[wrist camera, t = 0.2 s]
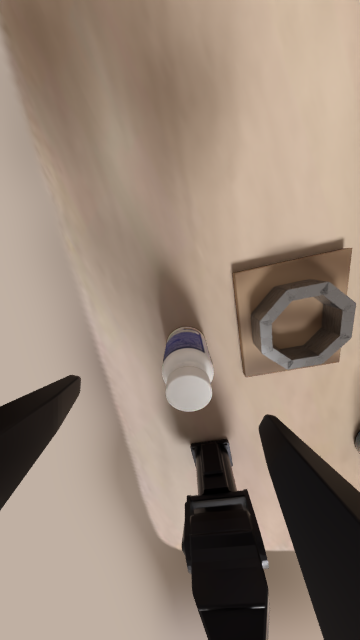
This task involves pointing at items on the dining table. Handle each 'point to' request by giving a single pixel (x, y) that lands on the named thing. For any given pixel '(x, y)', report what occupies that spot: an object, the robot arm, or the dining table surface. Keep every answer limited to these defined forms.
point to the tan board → (297, 316)
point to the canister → (358, 442)
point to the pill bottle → (187, 370)
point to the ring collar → (323, 341)
